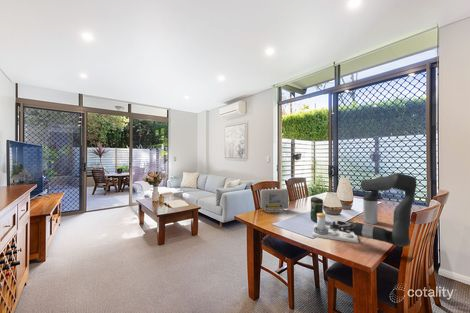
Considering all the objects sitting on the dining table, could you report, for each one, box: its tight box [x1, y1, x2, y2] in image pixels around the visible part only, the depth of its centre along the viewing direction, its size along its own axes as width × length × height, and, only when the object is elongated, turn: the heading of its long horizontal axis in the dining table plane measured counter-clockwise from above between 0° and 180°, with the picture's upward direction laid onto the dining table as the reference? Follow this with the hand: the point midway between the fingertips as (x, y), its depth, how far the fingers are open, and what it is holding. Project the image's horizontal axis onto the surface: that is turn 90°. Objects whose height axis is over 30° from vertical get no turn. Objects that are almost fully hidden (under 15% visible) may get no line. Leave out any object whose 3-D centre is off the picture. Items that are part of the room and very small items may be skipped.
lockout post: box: [316, 212, 327, 231], centre depth 135 cm, size 5×5×12 cm
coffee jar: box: [310, 196, 324, 223], centre depth 162 cm, size 10×8×19 cm
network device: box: [260, 188, 289, 213], centre depth 192 cm, size 26×9×20 cm, turn 94°
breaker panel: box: [311, 220, 359, 244], centre depth 136 cm, size 20×26×6 cm
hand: (335, 223), depth 129 cm, fingers open, 8 cm apart
